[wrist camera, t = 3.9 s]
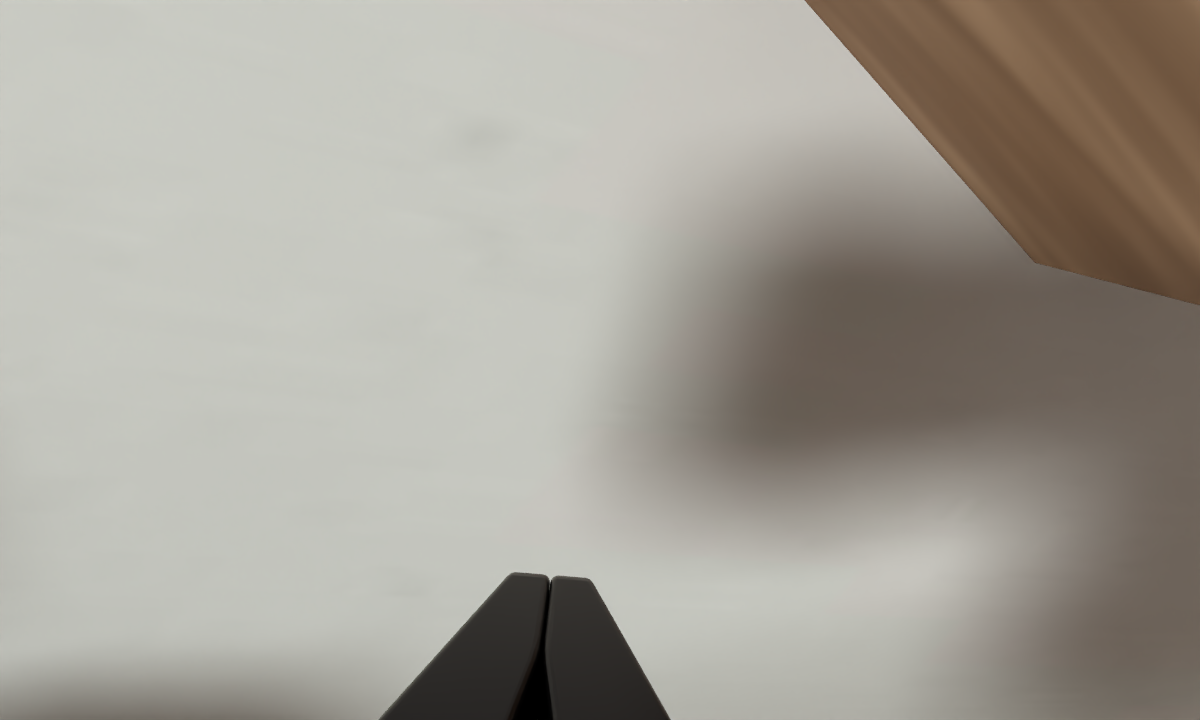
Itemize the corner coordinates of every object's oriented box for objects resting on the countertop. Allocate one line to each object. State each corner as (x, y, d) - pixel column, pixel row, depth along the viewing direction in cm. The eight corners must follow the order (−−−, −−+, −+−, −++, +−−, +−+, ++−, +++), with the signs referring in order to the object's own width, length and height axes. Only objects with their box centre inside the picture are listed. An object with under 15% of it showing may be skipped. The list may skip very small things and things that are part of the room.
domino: (1034, 262, 23) (1501, 383, 13) (737, -76, 20) (1059, -239, 10) (1086, 207, 22) (1594, 289, 13) (795, -140, 20) (1174, -363, 10)
